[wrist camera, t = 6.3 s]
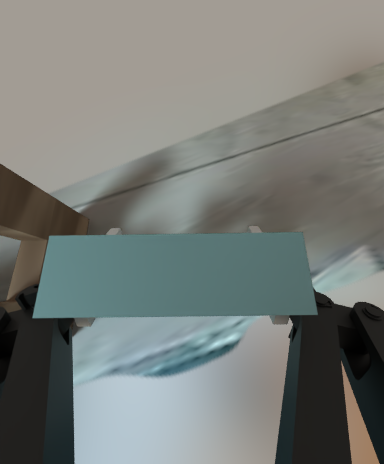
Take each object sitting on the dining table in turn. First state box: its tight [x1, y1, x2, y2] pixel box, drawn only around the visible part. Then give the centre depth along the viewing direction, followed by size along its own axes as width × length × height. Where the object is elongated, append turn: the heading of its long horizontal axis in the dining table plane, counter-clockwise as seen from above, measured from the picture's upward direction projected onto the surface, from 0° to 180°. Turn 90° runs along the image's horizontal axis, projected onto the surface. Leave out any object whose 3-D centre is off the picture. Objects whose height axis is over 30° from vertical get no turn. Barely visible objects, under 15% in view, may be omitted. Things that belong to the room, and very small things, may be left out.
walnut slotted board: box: [0, 164, 89, 330], centre depth 17 cm, size 2×14×12 cm, turn 1°
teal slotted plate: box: [32, 232, 318, 318], centre depth 13 cm, size 10×3×12 cm, turn 91°
